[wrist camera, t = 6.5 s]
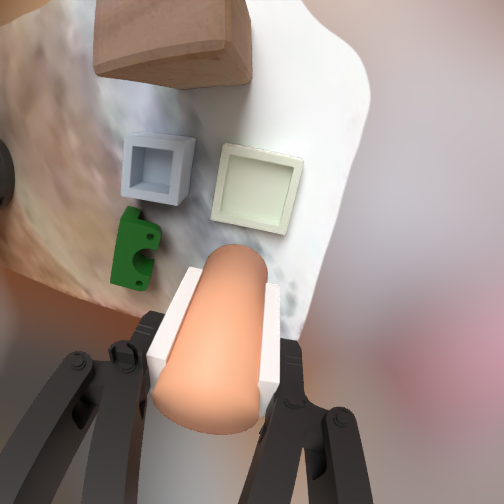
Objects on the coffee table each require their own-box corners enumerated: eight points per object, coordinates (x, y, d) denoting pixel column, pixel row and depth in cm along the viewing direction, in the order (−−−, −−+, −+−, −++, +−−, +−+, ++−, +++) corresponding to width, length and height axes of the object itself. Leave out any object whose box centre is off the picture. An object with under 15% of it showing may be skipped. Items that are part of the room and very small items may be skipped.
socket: (136, 185, 39) (120, 195, 34) (141, 131, 35) (124, 135, 31) (188, 194, 39) (177, 205, 34) (196, 138, 35) (185, 141, 31)
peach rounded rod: (202, 292, 19) (156, 421, 10) (208, 238, 17) (148, 366, 8) (260, 303, 19) (248, 440, 10) (273, 251, 17) (269, 392, 8)
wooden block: (253, 85, 32) (229, 52, 14) (176, 91, 32) (87, 80, 15) (251, 16, 27) (228, -64, 9) (175, 25, 28) (95, -29, 10)
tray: (214, 213, 40) (210, 219, 38) (226, 142, 35) (222, 144, 33) (284, 227, 40) (285, 235, 38) (302, 158, 36) (304, 161, 33)
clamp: (155, 251, 49) (145, 297, 43) (123, 242, 47) (109, 288, 41) (169, 205, 40) (155, 258, 34) (130, 194, 38) (110, 245, 32)
